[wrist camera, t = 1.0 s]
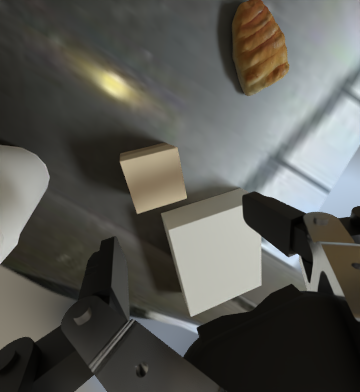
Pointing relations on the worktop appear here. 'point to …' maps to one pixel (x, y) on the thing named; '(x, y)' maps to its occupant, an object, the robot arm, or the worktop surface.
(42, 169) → the foam cup
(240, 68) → the pastry
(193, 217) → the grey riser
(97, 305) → the robot arm
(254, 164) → the worktop surface
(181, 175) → the maple block
